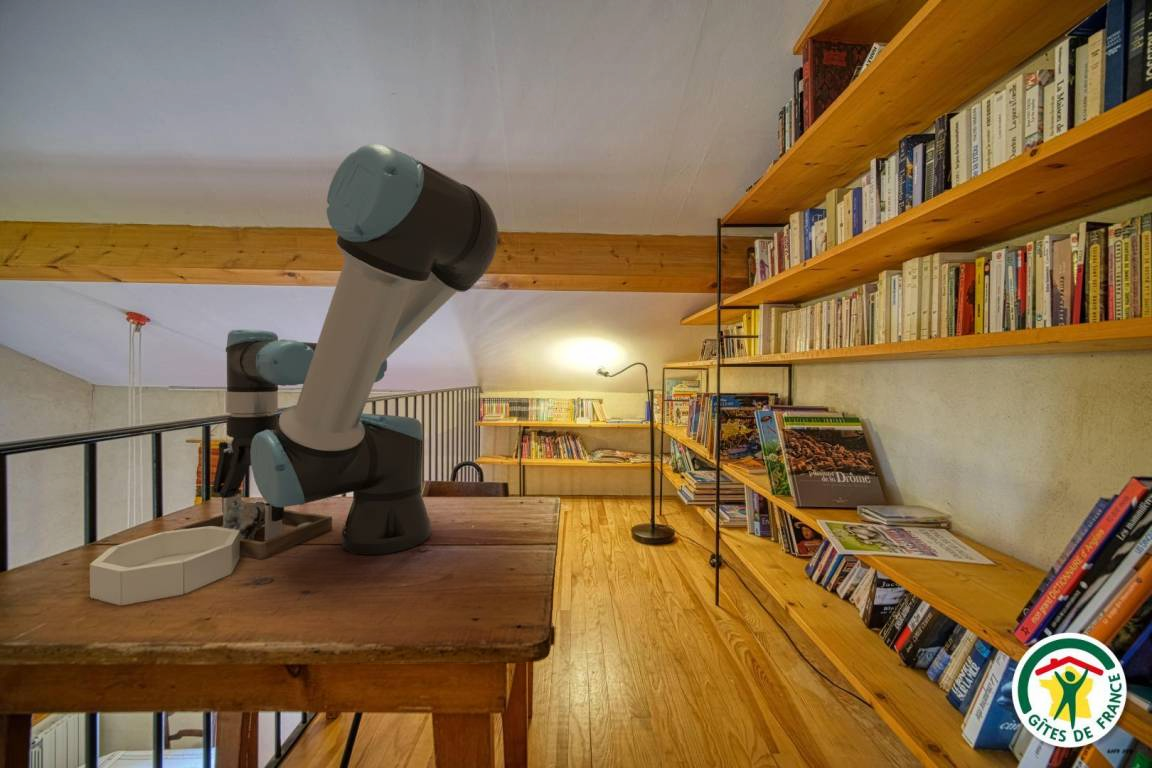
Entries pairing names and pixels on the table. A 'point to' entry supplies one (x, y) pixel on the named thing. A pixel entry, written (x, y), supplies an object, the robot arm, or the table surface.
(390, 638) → the table surface
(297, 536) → the frame
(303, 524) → the pebble
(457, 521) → the table surface
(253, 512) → the mineral specimen
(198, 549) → the bowl
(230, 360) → the robot arm
